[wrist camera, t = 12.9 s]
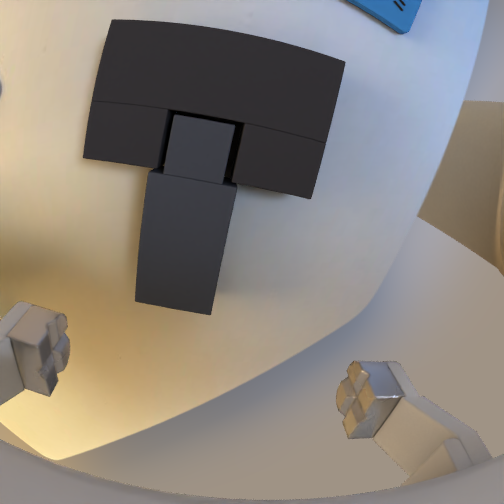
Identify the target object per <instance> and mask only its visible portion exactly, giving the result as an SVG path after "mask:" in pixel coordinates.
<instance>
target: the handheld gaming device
mask: <svg viewBox="0 0 504 504" xmlns="http://www.w3.org/2000/svg"><path fill="white" fill-rule="evenodd" d="M347 1H349V2H350V3H352V4H354V5H356V6H357V7H359V8H361V9H362V10H364V11H366V12H367V13H369V14H371V15H372V16H374V17H375V18H377V19H378V20H380V21H382V22H383V23H385V24H386V25H388V26H389V27H391V28H392V29H394V30H395V31H396V32H398V33H400V34H404V33H407V32H409V31H410V28H411V26H412V24H413V21H414V19H415V16H416V14H417V11H418V9H419V7H420V4H421V2H422V0H347Z"/></svg>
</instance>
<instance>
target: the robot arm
mask: <svg viewBox="0 0 504 504" xmlns="http://www.w3.org/2000/svg"><path fill="white" fill-rule="evenodd" d="M67 327H68V325H67V318H66V316H65V315H64V314H63V313H59V312H56V311H53V310H49V309H46V308H43V307H40V306H37V305H33V304H30V303H27V302H24V301H19V302H17V303H16V304H15V305H14V306H13V307H12V308H11V309H10V311H9V312H8V313H7V314H6V315H5V316H4V317H3V318H2V319H1V320H0V405H2V404H3V403H5V402H7V401H8V400H10V399H11V398H13V397H14V396H16V395H17V394H19V393H20V392H22V391H24V388H25V389H28V390H31V391H34V392H37V393H40V394H43V395H46V396H49V397H50V396H51V394H52V392H53V390H54V388H55V386H56V384H57V382H58V377H57V373H59V372H61V371H63V370H64V369H65V367H66V365H67V363H68V359H69V355H70V341H69V338H68V337H67V335H66V334H65V333H64V332H65V330H66V329H67ZM347 373H348V377H347V378H345V379H344V380H343V381H341V383H340V385H339V387H338V389H337V395H336V404H337V408H338V411H339V412H340V413H342V414H343V415H344V416H345V418H344V420H343V426H344V429H345V431H346V434H347V437H348V439H358V438H373V440H374V441H375V442H376V443H377V444H378V445H379V446H380V447H381V448H382V449H383V450H384V451H385V452H386V453H387V454H388V455H389V456H390V457H391V458H392V459H393V460H394V461H395V462H396V463H397V464H398V465H399V466H400V467H401V468H402V469H403V470H404V471H405V472H406V473H407V474H408V475H409V476H410V477H409V478H408V479H407V480H406V481H405V482H404V483H403V484H401V486H400V487H396V488H390V489H385V490H379V491H374V492H367V493H360V494H353V495H346V496H336V497H327V498H314V499H296V500H246V499H226V498H214V497H203V496H194V495H186V494H178V493H172V492H166V491H160V490H154V489H149V488H144V487H139V486H134V485H130V484H125V483H121V482H117V481H113V480H109V479H105V478H102V477H98V476H95V475H91V474H88V473H85V472H81V471H78V470H75V469H72V468H69V467H66V466H63V465H60V464H58V463H55V462H52V461H50V460H47V459H44V458H42V457H39V456H37V455H34V454H32V453H30V452H27V451H25V450H23V449H20V448H18V447H16V446H14V445H11V444H9V443H7V442H5V441H3V440H1V439H0V504H504V454H502V455H500V456H497V457H495V458H492V456H491V455H490V453H489V451H488V449H487V448H486V446H485V444H484V443H483V441H482V440H481V438H480V436H479V435H478V433H477V431H475V430H474V429H472V428H471V427H469V426H468V425H466V424H465V423H463V422H461V421H460V420H459V419H457V418H456V417H454V416H452V415H451V414H450V413H448V412H447V411H445V410H444V409H442V408H441V407H439V406H438V405H436V404H435V403H433V402H432V401H430V400H429V399H427V398H426V397H424V396H419V394H418V392H417V391H416V389H415V388H414V386H413V384H412V383H411V381H410V379H409V378H408V376H407V374H406V373H405V371H404V369H403V368H402V366H401V364H399V363H398V362H396V361H383V362H374V361H373V362H371V361H353V362H352V363H351V364H350V366H349V367H348V369H347Z"/></svg>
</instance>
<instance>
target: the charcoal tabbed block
mask: <svg viewBox="0 0 504 504" xmlns="http://www.w3.org/2000/svg"><path fill="white" fill-rule="evenodd" d="M234 130H235V125H232V124H227V123H222V122H216V121H211V120H205V119H200V118H194V117H188V116H182V115H174V118H173V123H172V128H171V133H170V138H169V144H168V149H167V154H166V160H165V166H162V165H161V166H160V167H158V168H157V169H155V168H154V169H152V170H151V171H150V172H149V173H148V179H147V186H146V193H145V200H144V208H143V216H142V224H141V233H140V243H139V253H138V265H137V277H136V292H135V301H136V302H140V303H145V304H151V305H156V306H161V307H166V308H172V309H177V310H183V311H189V312H194V313H200V314H206V315H211V311H212V306H213V301H214V296H215V291H216V286H217V281H218V276H219V271H220V267H221V262H222V257H223V252H224V247H225V243H226V238H227V233H228V228H229V224H230V219H231V215H232V210H233V205H234V201H235V196H236V192H237V184H236V183H233V182H232V178H228V177H224V175H225V170H226V166H227V161H228V157H229V152H230V148H231V143H232V139H233V134H234Z"/></svg>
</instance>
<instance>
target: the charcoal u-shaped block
mask: <svg viewBox="0 0 504 504" xmlns="http://www.w3.org/2000/svg"><path fill="white" fill-rule="evenodd" d="M344 67H345V61H342V60H339V59H336V58H333V57H330V56H327V55H324V54H321V53H318V52H315V51H311V50H308V49H305V48H301V47H298V46H294V45H291V44H287V43H283V42H279V41H275V40H271V39H267V38H263V37H258V36H254V35H249V34H244V33H239V32H234V31H229V30H223V29H217V28H211V27H204V26H197V25H189V24H180V23H170V22H159V21H143V20H112V21H111V24H110V28H109V31H108V35H107V38H106V42H105V45H104V49H103V53H102V57H101V61H100V65H99V69H98V73H97V78H96V82H95V87H94V92H93V97H92V102H91V107H90V113H89V119H88V125H87V131H86V138H85V145H84V153H83V158H86V159H94V160H101V161H108V162H116V163H123V164H129V165H136V166H143V167H149V168H155V169H157V168H158V167H160V166H161V165H163V164H164V163H165V160H166V154H167V149H168V144H169V138H170V133H171V128H172V123H173V118H174V115H176V111H179V112H186V113H192V114H198V115H204V116H209V117H215V118H220V119H225V120H230V121H235V122H240V123H243V124H242V127H241V131H240V136H239V140H238V145H237V149H236V153H235V158H234V162H233V167H232V171H231V178H232V182H233V183H238V184H243V185H248V186H253V187H258V188H262V189H267V190H272V191H276V192H281V193H285V194H290V195H294V196H299V197H303V198H307V199H311V197H312V194H313V190H314V187H315V183H316V179H317V175H318V172H319V168H320V164H321V160H322V157H323V153H324V149H325V145H326V141H327V137H328V133H329V129H330V125H331V121H332V117H333V113H334V109H335V105H336V101H337V97H338V93H339V88H340V84H341V80H342V76H343V71H344Z"/></svg>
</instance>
